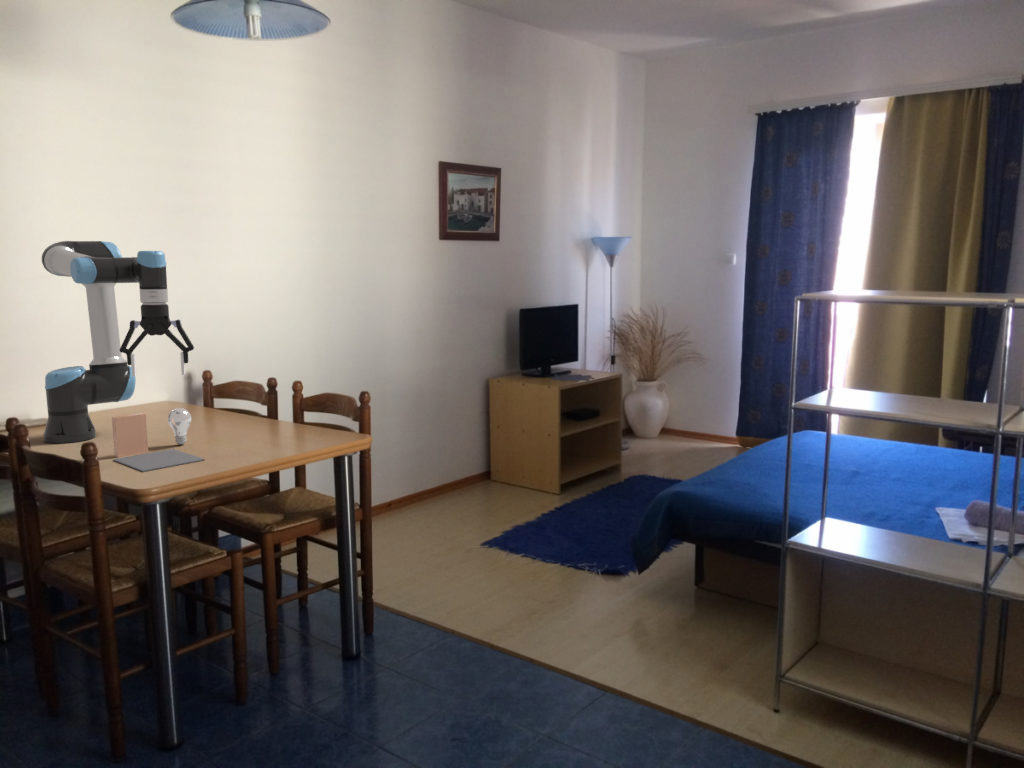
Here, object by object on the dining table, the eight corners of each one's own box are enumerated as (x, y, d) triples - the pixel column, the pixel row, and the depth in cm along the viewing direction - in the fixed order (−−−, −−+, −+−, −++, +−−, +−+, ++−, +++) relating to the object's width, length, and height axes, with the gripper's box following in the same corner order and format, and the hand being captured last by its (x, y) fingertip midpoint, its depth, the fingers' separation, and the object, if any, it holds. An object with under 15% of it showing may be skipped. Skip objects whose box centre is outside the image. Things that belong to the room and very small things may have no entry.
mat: (113, 460, 241) (113, 459, 241) (173, 450, 254) (173, 448, 254) (143, 472, 228) (142, 470, 227) (204, 460, 241) (204, 459, 241)
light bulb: (172, 448, 256) (170, 410, 254) (167, 444, 262) (164, 407, 260) (195, 445, 260) (193, 408, 258) (189, 441, 266) (187, 405, 264)
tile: (114, 456, 246) (111, 417, 244) (144, 451, 253) (142, 412, 251) (118, 457, 245) (115, 418, 243) (148, 452, 251) (145, 413, 249)
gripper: (105, 305, 234) (111, 378, 238) (198, 303, 241) (202, 375, 245) (110, 303, 242) (115, 374, 245) (200, 302, 249) (204, 371, 252)
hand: (159, 375), depth 245 cm, fingers open, 13 cm apart
